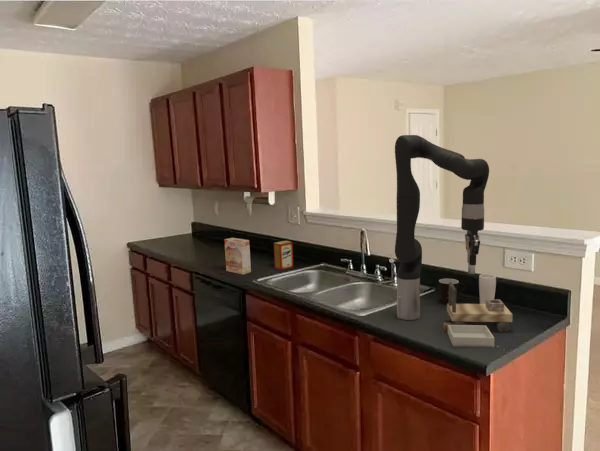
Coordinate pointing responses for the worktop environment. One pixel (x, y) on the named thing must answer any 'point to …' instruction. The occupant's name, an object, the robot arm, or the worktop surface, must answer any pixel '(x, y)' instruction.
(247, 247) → the coffeecake box
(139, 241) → the worktop surface
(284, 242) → the baking soda box
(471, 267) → the stop pin
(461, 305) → the trolley
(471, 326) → the tray
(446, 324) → the wheel chock
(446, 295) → the coffee mug
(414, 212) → the robot arm
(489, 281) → the drinking glass
